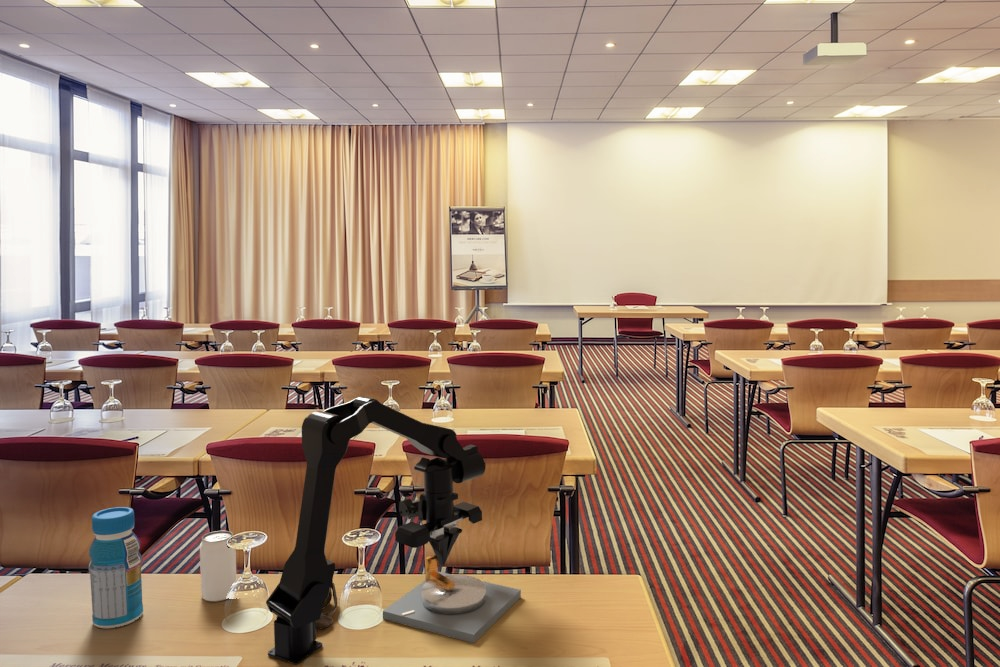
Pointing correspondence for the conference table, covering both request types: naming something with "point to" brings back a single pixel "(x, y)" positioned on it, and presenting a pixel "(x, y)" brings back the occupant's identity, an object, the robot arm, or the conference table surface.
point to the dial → (450, 590)
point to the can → (217, 566)
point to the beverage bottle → (115, 569)
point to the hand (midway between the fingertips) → (441, 565)
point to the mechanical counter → (324, 617)
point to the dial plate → (453, 625)
